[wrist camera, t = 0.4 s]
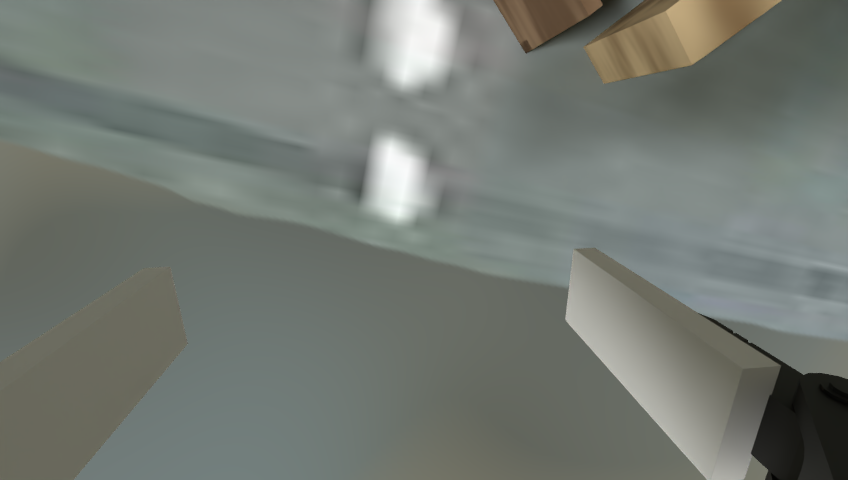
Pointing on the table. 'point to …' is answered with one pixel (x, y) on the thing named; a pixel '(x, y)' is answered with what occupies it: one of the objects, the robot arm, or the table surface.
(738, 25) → the tan block
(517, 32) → the cabinet
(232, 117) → the table surface
